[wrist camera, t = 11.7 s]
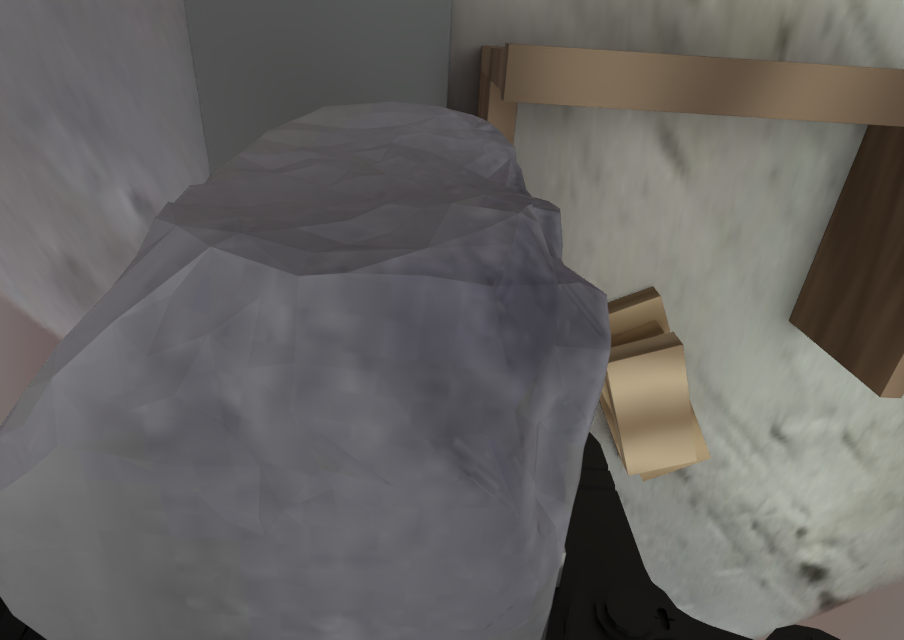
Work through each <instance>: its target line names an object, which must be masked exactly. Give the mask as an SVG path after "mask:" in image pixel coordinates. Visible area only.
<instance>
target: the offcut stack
mask: <svg viewBox="0 0 904 640" xmlns="http://www.w3.org/2000/svg"><path fill="white" fill-rule="evenodd" d="M607 304H608V313H609V322H610V331H611V350H610V356H609V361H608V366H607V371H606V376H605V381H604V386H603V389H602V392H601V395H600V398H599V400H600V403H601V406H602V409H603V411H604V414H605V417H606V420H607V422H608V425H609V428H610V431H611V433H612V436H613V439H614V442H615V444H616V447H617V450H618V452H619V455H620V458H621V460H622V463H623V465H624V468H626V471H627V473H628V476H630V475H634V474H639V473H640V476H641V478H642V480H643V481H646V480H649V479H652V478H655V477H657V476H660V475H663V474H666V473H669V472H672V471H675V470H678V469H681V468H684V467H686V466H689V465H692V464H695V463H698V462H701V461H704V460H707V459H710V458H711V457H710V454H709V451H708V448H707V446H706V443H705V440H704V438H703V435H702V432H701V430H700V427H699V424H698V421H697V419H696V416H695V413H694V411H693V408H692V405H691V403H690V400H689V392H688V383H687V375H686V366H685V358H684V349H683V344H682V343H681V341H680V340H679V339H678V337H677V336H676V335H675V333H674V332H671V333H670V329H669V326H668V322H667V318H666V314H665V310H664V307H663V303H662V299H661V296H660V295H659V293H658V292H657V291H656V290H655V288H654V287H650V288H648V289H645V290H642V291H639V292H637V293H634V294H631V295H628V296H626V297H623V298H620V299H617V300H614V301H612V302H609V303H607Z"/></svg>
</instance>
